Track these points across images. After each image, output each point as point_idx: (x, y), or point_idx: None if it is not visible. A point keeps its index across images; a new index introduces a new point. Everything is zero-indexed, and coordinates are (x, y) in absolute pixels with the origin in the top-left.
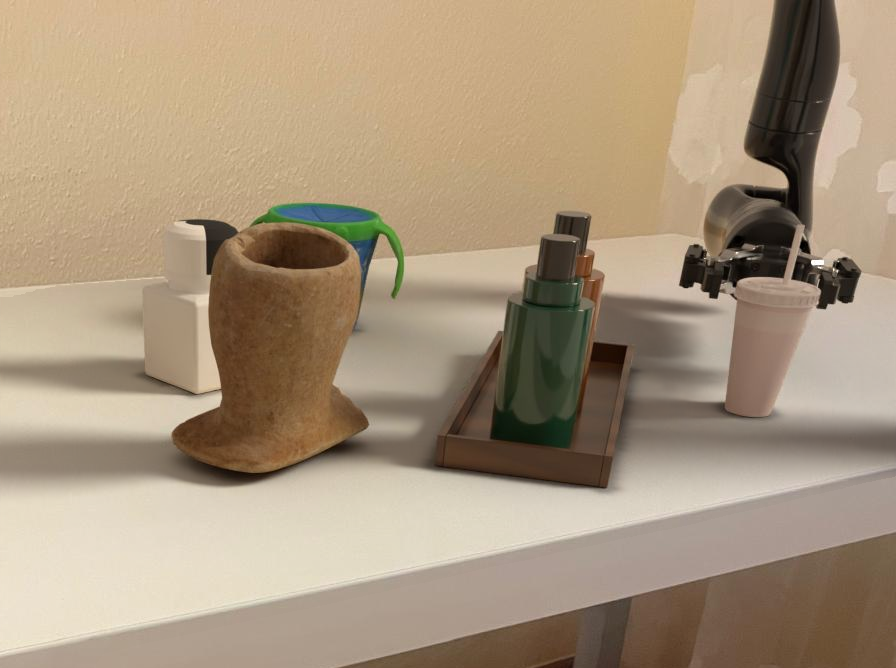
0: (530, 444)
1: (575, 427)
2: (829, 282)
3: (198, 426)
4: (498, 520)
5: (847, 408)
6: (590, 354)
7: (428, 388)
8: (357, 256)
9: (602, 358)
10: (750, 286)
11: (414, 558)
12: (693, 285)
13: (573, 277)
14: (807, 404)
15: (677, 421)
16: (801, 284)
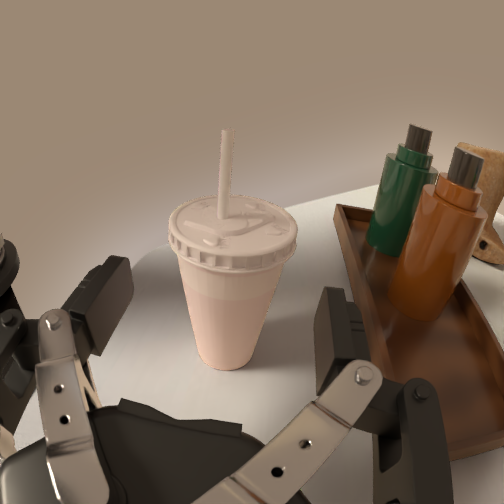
0: None
1: (376, 264)
2: (118, 256)
3: None
4: (364, 201)
5: (92, 368)
6: (402, 251)
7: (496, 329)
8: (468, 145)
9: None
10: (277, 218)
11: (375, 188)
12: (372, 437)
13: (405, 144)
14: (137, 379)
15: (304, 308)
16: (197, 215)
